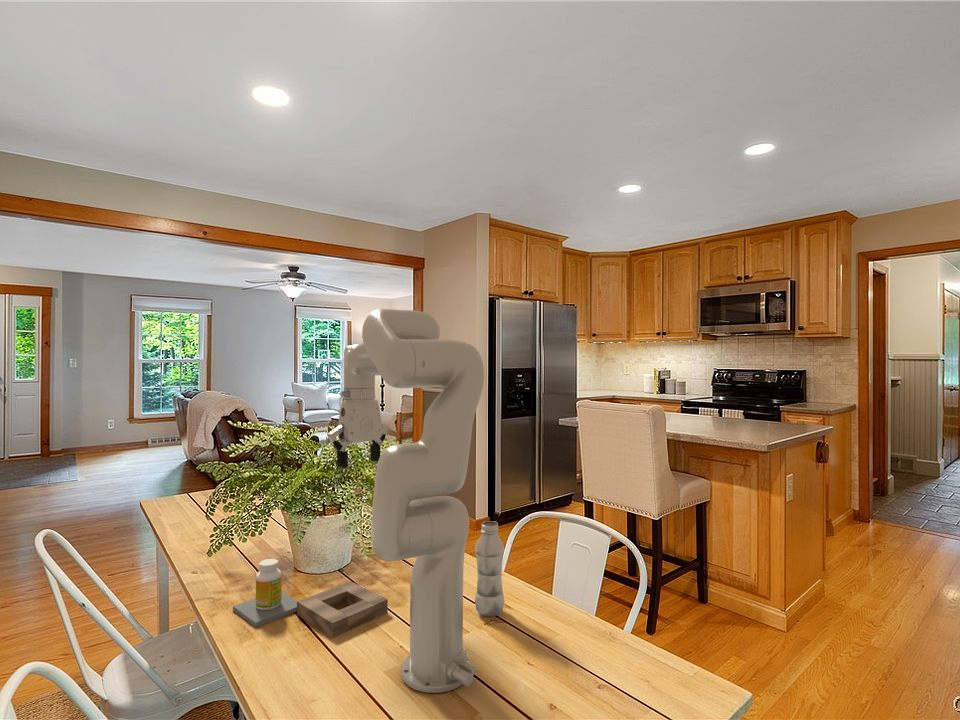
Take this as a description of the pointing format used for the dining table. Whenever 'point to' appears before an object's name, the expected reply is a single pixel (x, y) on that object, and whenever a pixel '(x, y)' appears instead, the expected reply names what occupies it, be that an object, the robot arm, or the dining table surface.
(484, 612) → the plastic bottle
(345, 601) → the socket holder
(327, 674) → the dining table surface
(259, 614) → the grey pad
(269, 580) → the supplement bottle
